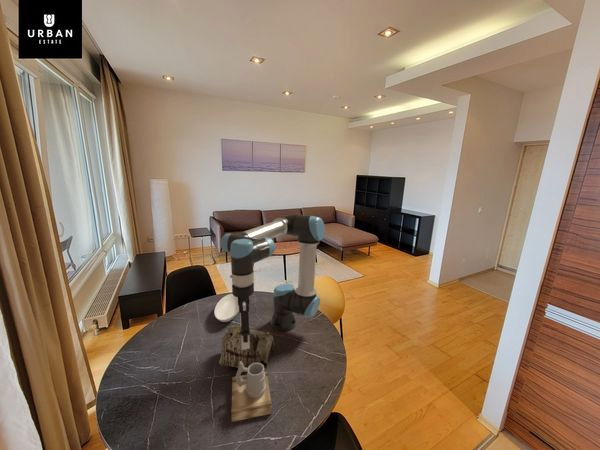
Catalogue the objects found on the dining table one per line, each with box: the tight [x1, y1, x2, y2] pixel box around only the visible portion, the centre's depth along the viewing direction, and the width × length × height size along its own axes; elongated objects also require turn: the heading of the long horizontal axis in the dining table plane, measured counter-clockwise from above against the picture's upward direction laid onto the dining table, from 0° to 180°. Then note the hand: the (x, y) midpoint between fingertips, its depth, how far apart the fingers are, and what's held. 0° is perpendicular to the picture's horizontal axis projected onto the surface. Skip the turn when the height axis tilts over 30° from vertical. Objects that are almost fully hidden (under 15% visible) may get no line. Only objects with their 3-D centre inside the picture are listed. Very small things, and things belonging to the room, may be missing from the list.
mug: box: [235, 361, 266, 398], centre depth 94 cm, size 8×12×12 cm, turn 84°
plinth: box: [231, 370, 273, 423], centre depth 94 cm, size 14×16×4 cm
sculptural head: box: [218, 324, 275, 369], centre depth 113 cm, size 17×21×25 cm
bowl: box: [213, 293, 239, 323], centre depth 150 cm, size 30×15×6 cm, turn 3°
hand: (244, 335), depth 91 cm, fingers open, 13 cm apart
